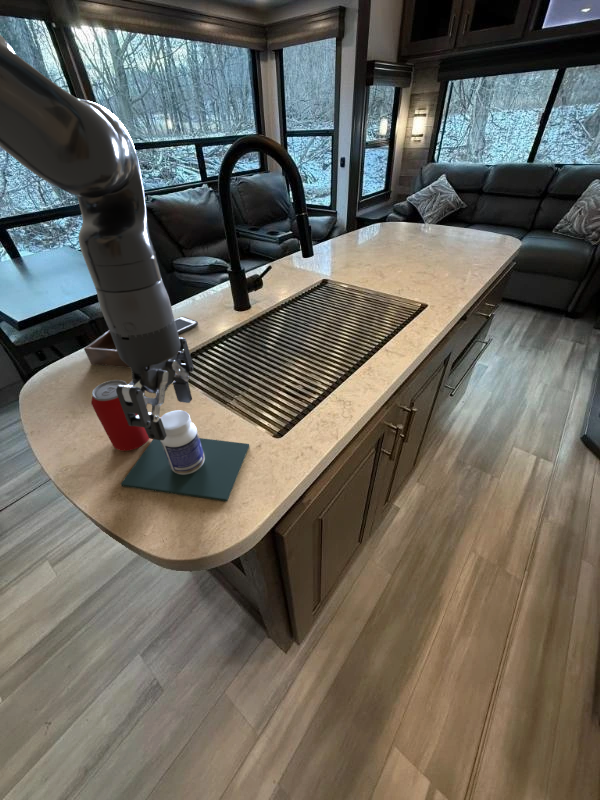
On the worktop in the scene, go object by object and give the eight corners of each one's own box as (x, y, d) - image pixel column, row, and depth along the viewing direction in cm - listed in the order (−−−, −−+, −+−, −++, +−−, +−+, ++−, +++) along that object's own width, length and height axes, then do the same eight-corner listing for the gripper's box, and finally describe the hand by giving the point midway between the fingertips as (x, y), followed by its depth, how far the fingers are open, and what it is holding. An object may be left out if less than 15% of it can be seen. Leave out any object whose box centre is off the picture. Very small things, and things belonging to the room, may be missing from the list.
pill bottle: (212, 458, 57) (200, 415, 51) (187, 481, 54) (171, 437, 47) (189, 445, 60) (175, 403, 54) (163, 466, 56) (145, 423, 50)
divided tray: (91, 364, 83) (83, 348, 81) (115, 344, 91) (109, 329, 88) (162, 370, 81) (157, 354, 78) (180, 350, 88) (176, 334, 86)
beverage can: (160, 432, 63) (140, 381, 56) (135, 457, 58) (110, 405, 51) (131, 425, 65) (109, 374, 58) (105, 448, 60) (77, 396, 53)
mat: (121, 486, 54) (120, 484, 53) (158, 435, 63) (157, 432, 63) (227, 501, 51) (226, 499, 51) (249, 446, 60) (249, 443, 60)
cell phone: (199, 324, 100) (199, 321, 99) (158, 344, 91) (157, 341, 90) (183, 318, 103) (182, 315, 103) (141, 337, 94) (140, 333, 94)
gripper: (144, 295, 46) (172, 388, 56) (72, 344, 35) (123, 449, 45) (194, 298, 45) (213, 393, 55) (136, 350, 34) (174, 456, 44)
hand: (173, 418), depth 50 cm, fingers open, 8 cm apart
